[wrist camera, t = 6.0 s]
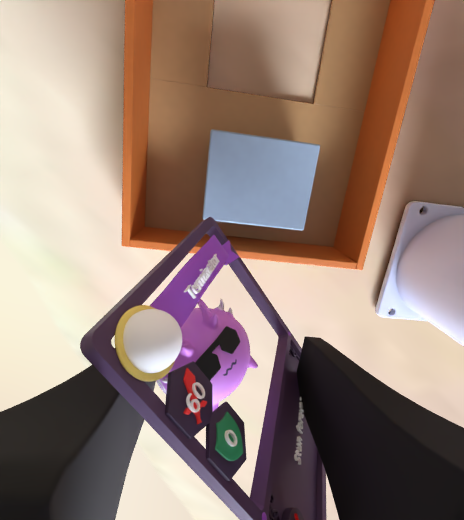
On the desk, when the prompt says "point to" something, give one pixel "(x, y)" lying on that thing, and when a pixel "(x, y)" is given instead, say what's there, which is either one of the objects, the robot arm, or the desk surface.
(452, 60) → the desk surface
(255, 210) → the small cube
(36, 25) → the desk surface
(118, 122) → the desk surface
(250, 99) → the wooden tray
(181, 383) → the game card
